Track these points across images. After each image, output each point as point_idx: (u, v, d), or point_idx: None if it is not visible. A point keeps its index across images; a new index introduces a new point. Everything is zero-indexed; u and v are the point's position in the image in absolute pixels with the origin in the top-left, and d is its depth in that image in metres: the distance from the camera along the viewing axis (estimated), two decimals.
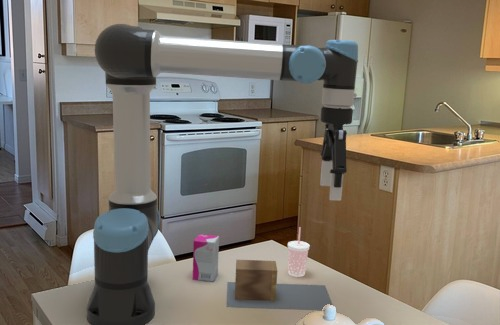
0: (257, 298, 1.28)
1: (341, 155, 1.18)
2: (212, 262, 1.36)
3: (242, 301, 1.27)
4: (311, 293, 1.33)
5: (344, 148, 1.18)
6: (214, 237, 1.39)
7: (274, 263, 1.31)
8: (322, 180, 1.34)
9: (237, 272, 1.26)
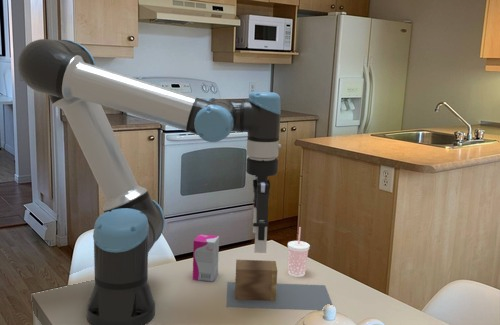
0: (257, 298, 1.28)
1: (263, 209, 1.17)
2: (212, 262, 1.36)
3: (242, 301, 1.27)
4: (311, 293, 1.33)
5: (266, 202, 1.18)
6: (214, 237, 1.39)
7: (274, 263, 1.31)
8: (254, 227, 1.34)
9: (237, 272, 1.26)
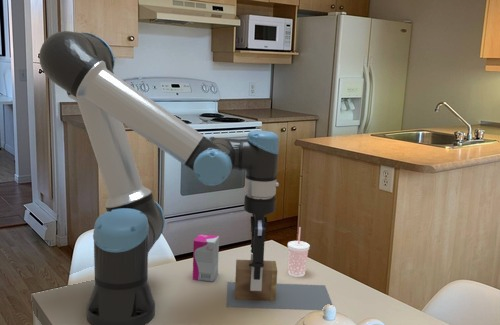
0: (257, 298, 1.28)
1: (259, 252, 1.22)
2: (212, 262, 1.36)
3: (242, 301, 1.27)
4: (311, 293, 1.33)
5: (262, 245, 1.22)
6: (214, 237, 1.39)
7: (273, 263, 1.31)
8: None
9: (237, 272, 1.26)
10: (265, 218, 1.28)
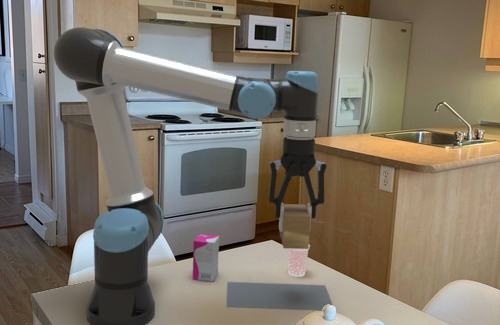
0: None
1: None
2: (212, 262, 1.36)
3: (242, 301, 1.27)
4: (311, 293, 1.33)
5: (271, 179, 1.24)
6: (214, 237, 1.39)
7: (302, 215, 1.22)
8: None
9: None
10: (302, 163, 1.23)
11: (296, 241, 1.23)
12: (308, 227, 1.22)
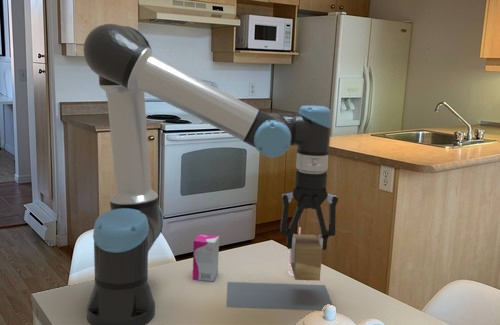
0: (293, 270, 1.29)
1: (282, 217, 1.27)
2: (212, 262, 1.36)
3: (242, 301, 1.27)
4: (311, 293, 1.33)
5: (283, 212, 1.26)
6: (214, 237, 1.39)
7: (314, 248, 1.24)
8: None
9: None
10: (314, 196, 1.24)
11: (307, 273, 1.25)
12: (320, 259, 1.24)
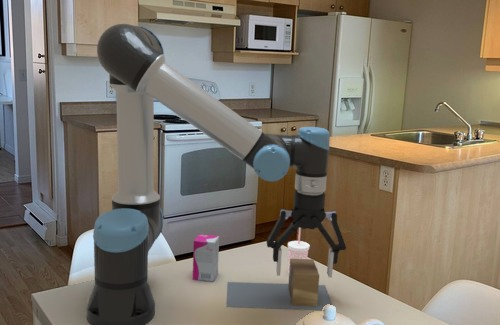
0: (290, 295, 1.31)
1: (272, 231, 1.28)
2: (212, 262, 1.36)
3: (242, 301, 1.27)
4: None
5: (276, 226, 1.27)
6: (214, 237, 1.39)
7: (311, 274, 1.25)
8: (327, 268, 1.31)
9: (290, 262, 1.34)
10: (312, 218, 1.26)
11: (305, 298, 1.26)
12: (317, 285, 1.25)
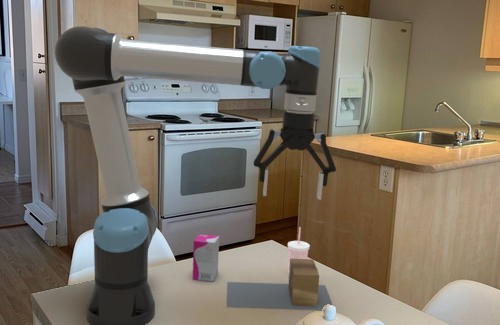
0: (290, 295, 1.31)
1: (260, 150, 1.27)
2: (212, 262, 1.36)
3: (242, 301, 1.27)
4: None
5: (264, 145, 1.26)
6: (214, 237, 1.39)
7: (311, 274, 1.25)
8: (317, 191, 1.31)
9: (290, 262, 1.34)
10: (300, 138, 1.25)
11: (305, 298, 1.26)
12: (317, 285, 1.25)
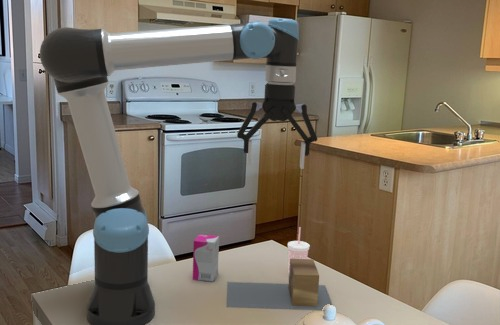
0: (290, 295, 1.31)
1: None
2: (212, 262, 1.36)
3: (242, 301, 1.27)
4: None
5: (247, 117, 1.30)
6: (214, 237, 1.39)
7: (311, 274, 1.25)
8: (300, 161, 1.34)
9: (290, 262, 1.34)
10: (282, 109, 1.29)
11: (305, 298, 1.26)
12: (317, 285, 1.25)
